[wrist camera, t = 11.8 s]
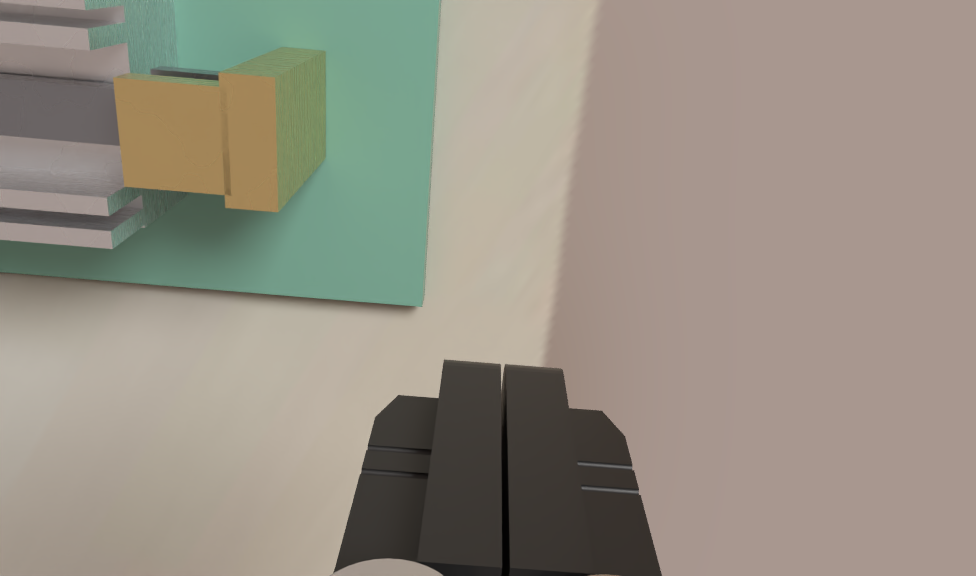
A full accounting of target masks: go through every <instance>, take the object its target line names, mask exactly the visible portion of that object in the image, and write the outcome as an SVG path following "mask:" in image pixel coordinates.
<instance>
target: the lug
mask: <svg viewBox="0 0 976 576" xmlns="http://www.w3.org/2000/svg"><path fill="white" fill-rule="evenodd" d="M218 76H219V81H217V80H205V79H194V78H183V77H171V76H160V75H149V74H137V73H126V74H123V75H119V76H116V77H113V83H114V93H115V102H116V112H117V121H118V131H119V140H120V150H121V160H122V169H123V179H124V187H135V188H146V189H158V190H170V191H182V192H193V193H205V194H217V195H225V208H233V209H244V210H256V211H268V212H279V211H280V210H281V209H282V208H283V206H284V205H285V204H286V203H287V202H288V201H289V200H290V198H291V197H292V196H293V195H294V194H295V193H296V191H297V190H298V189H299V188H300V187H301V186H302V185H303V183H304V182H305V181H306V180H307V179H308V178H309V177H310V175H311V174H312V173H313V172H314V171H315V170H316V169H317V167H318V166H319V165H320V164H321V163H322V162H323V161H324V159H325V158H326V51H323V50H312V49H300V48H289V47H281V48H278V49H276V50H273V51H271V52H268V53H266V54H263V55H261V56H258V57H256V58H253V59H251V60H248V61H246V62H243V63H241V64H238V65H236V66H233V67H231V68H228V69H226V70H223V71H221V72H218Z"/></svg>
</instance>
